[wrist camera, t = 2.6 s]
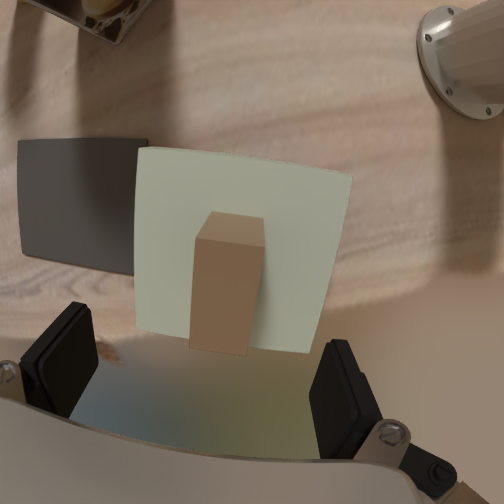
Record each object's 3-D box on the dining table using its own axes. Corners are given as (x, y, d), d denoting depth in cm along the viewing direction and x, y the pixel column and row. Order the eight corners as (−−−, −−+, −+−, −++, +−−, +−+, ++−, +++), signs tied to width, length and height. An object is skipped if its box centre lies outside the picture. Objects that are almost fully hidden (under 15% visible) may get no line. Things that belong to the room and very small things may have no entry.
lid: (342, 171, 19) (386, 191, 12) (304, 333, 24) (319, 403, 17) (152, 146, 19) (98, 153, 12) (146, 311, 23) (111, 373, 16)
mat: (147, 140, 25) (146, 140, 25) (141, 274, 29) (140, 275, 29) (19, 140, 24) (18, 140, 24) (23, 252, 29) (22, 253, 29)
